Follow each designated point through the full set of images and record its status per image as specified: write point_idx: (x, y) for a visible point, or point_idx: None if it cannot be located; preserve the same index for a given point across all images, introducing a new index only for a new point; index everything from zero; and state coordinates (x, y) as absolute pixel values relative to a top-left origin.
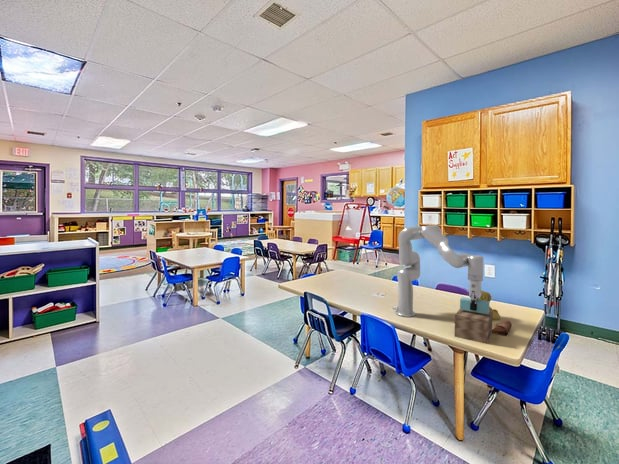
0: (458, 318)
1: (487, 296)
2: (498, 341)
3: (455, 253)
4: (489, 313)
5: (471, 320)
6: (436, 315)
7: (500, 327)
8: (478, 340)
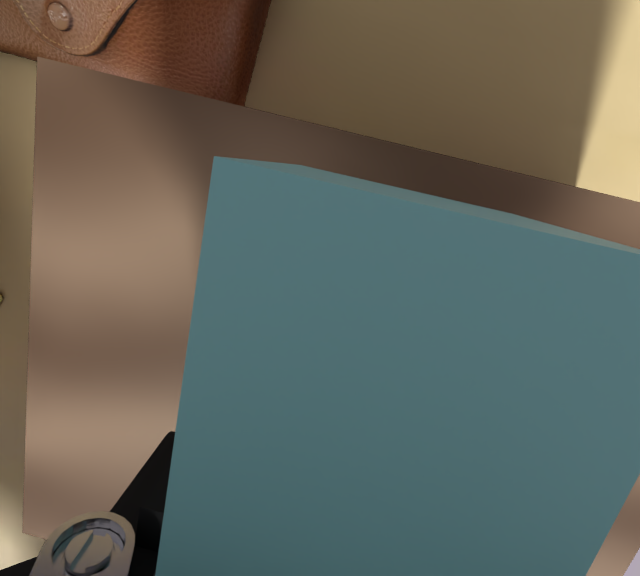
0: None
1: None
2: (470, 85)
3: None
4: (281, 153)
5: None
6: (28, 536)
7: (148, 8)
8: None
